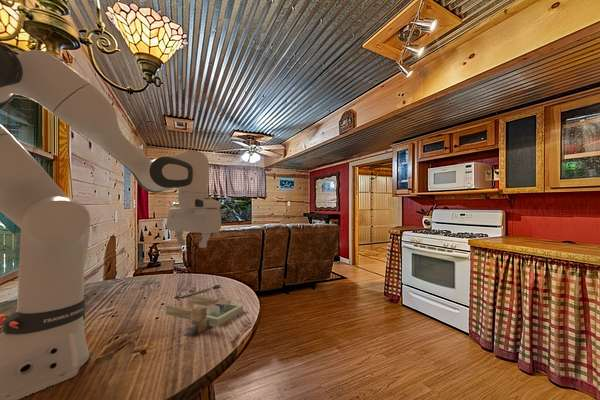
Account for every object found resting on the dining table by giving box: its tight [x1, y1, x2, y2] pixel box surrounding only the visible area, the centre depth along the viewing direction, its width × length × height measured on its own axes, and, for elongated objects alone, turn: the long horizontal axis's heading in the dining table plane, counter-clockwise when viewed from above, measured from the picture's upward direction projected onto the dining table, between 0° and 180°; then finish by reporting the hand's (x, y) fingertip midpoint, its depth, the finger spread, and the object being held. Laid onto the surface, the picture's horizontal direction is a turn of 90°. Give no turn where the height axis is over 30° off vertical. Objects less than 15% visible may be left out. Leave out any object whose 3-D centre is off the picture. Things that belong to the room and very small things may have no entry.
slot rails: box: [165, 294, 219, 320], centre depth 92 cm, size 12×12×3 cm
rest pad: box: [183, 324, 214, 339], centre depth 76 cm, size 8×4×1 cm, turn 156°
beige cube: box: [214, 299, 231, 316], centre depth 90 cm, size 4×4×4 cm
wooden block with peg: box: [187, 305, 210, 336], centre depth 77 cm, size 7×3×6 cm, turn 156°
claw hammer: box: [174, 284, 221, 301], centre depth 111 cm, size 21×7×1 cm, turn 142°
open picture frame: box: [190, 302, 244, 327], centre depth 87 cm, size 13×11×2 cm
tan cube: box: [205, 304, 221, 317], centre depth 85 cm, size 4×4×4 cm
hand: (191, 246), depth 80 cm, fingers open, 8 cm apart
